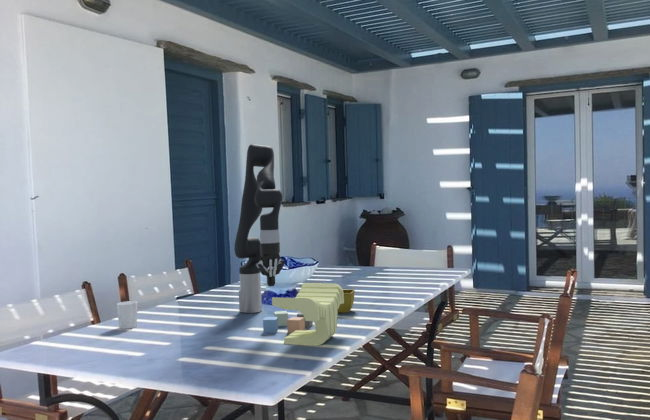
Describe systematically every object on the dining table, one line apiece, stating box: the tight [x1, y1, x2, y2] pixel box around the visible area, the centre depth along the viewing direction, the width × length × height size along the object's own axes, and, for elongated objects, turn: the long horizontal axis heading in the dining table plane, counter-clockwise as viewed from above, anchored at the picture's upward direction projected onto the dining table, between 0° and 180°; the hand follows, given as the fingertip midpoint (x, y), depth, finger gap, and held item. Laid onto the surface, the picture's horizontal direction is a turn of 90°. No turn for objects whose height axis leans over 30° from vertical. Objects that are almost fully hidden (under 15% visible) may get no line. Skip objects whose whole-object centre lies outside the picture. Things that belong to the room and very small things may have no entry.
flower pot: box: [337, 288, 355, 314], centre depth 257 cm, size 9×9×9 cm
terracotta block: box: [286, 316, 306, 334], centre depth 224 cm, size 5×5×5 cm
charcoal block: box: [296, 311, 314, 328], centre depth 234 cm, size 5×5×5 cm
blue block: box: [262, 316, 279, 334], centre depth 226 cm, size 5×5×5 cm
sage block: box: [273, 310, 289, 327], centre depth 237 cm, size 5×5×5 cm
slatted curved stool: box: [271, 282, 344, 346], centre depth 211 cm, size 30×16×18 cm, turn 162°
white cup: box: [116, 300, 138, 330], centre depth 243 cm, size 8×8×10 cm
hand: (271, 286), depth 229 cm, fingers closed
